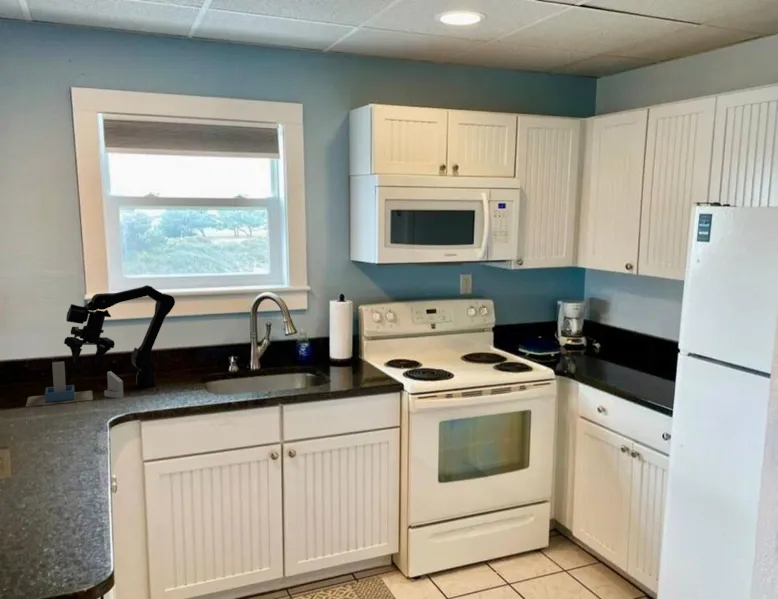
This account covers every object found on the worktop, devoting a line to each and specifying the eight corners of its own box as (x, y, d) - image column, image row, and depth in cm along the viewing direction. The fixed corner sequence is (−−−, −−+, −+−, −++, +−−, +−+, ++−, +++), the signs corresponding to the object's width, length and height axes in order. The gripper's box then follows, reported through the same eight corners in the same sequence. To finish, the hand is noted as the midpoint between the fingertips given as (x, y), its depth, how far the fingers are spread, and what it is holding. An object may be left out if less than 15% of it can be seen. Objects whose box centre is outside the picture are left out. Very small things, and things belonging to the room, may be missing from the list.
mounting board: (92, 393, 253) (92, 390, 253) (92, 402, 241) (92, 399, 241) (28, 399, 244) (28, 396, 244) (25, 409, 231) (25, 406, 231)
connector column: (66, 394, 245) (64, 361, 243) (66, 397, 241) (64, 363, 240) (54, 396, 243) (52, 362, 241) (54, 398, 240) (52, 364, 238)
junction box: (74, 393, 249) (74, 384, 248) (74, 400, 240) (73, 390, 240) (46, 396, 245) (46, 387, 244) (45, 403, 236) (44, 393, 236)
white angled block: (103, 388, 250) (110, 371, 248) (120, 403, 248) (128, 386, 245) (95, 391, 247) (103, 373, 245) (113, 406, 245) (121, 388, 242)
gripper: (102, 320, 264) (93, 356, 265) (60, 318, 247) (50, 356, 249) (119, 328, 258) (110, 365, 260) (77, 327, 242) (67, 366, 244)
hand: (84, 363), depth 253 cm, fingers open, 9 cm apart
